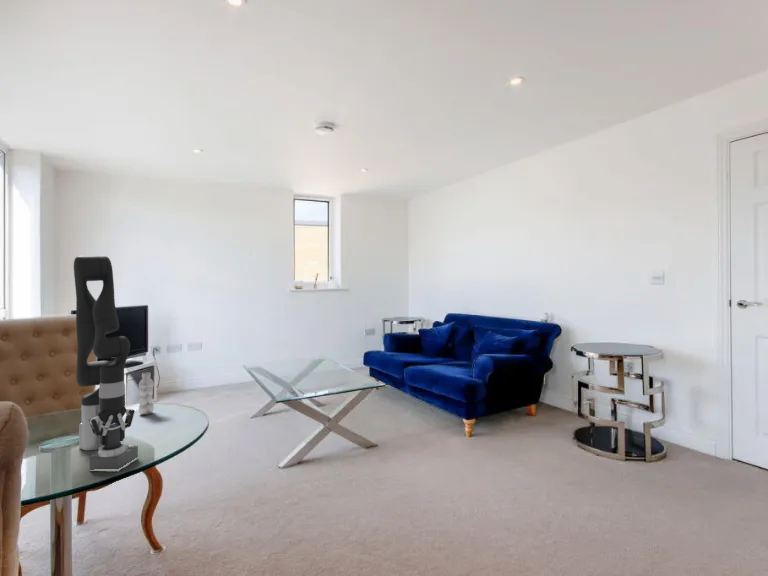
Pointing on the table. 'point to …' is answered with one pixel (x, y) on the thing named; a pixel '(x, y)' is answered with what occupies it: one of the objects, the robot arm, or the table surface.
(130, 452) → the camera body
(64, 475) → the table surface
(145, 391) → the plastic bottle
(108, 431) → the lens
